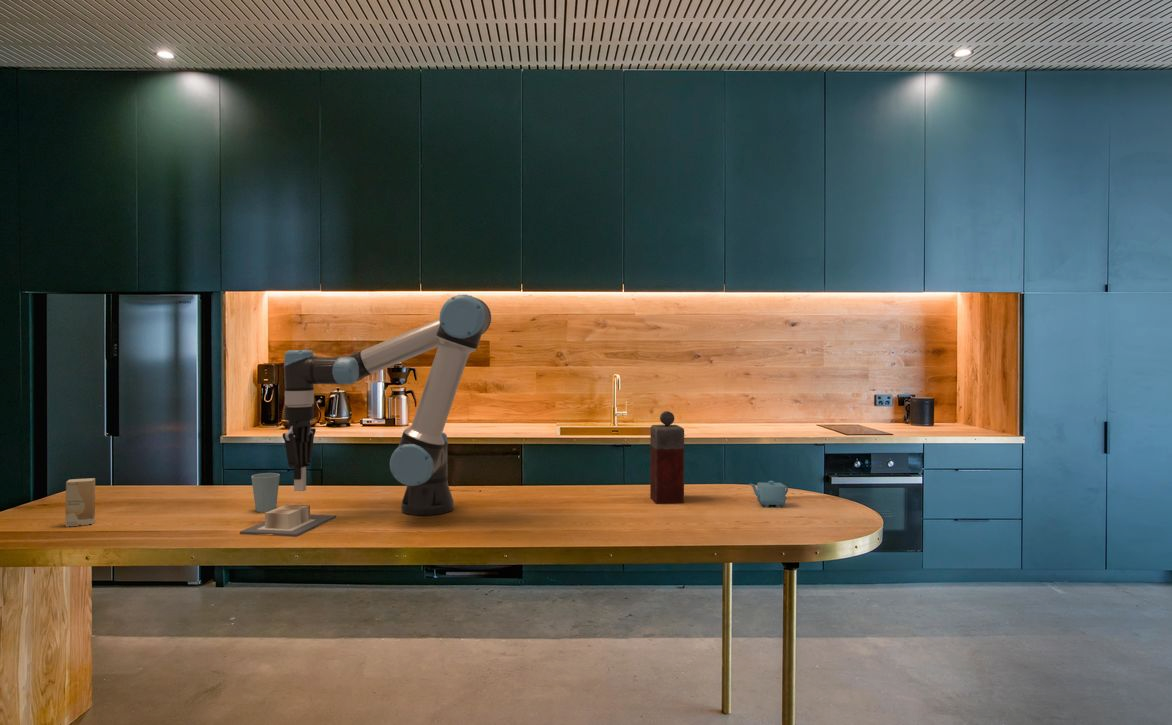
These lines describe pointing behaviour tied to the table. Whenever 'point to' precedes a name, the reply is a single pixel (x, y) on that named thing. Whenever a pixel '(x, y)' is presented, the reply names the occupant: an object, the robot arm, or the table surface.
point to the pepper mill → (667, 461)
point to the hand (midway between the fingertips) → (300, 490)
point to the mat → (295, 531)
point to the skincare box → (80, 502)
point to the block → (287, 516)
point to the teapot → (770, 493)
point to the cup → (265, 491)
